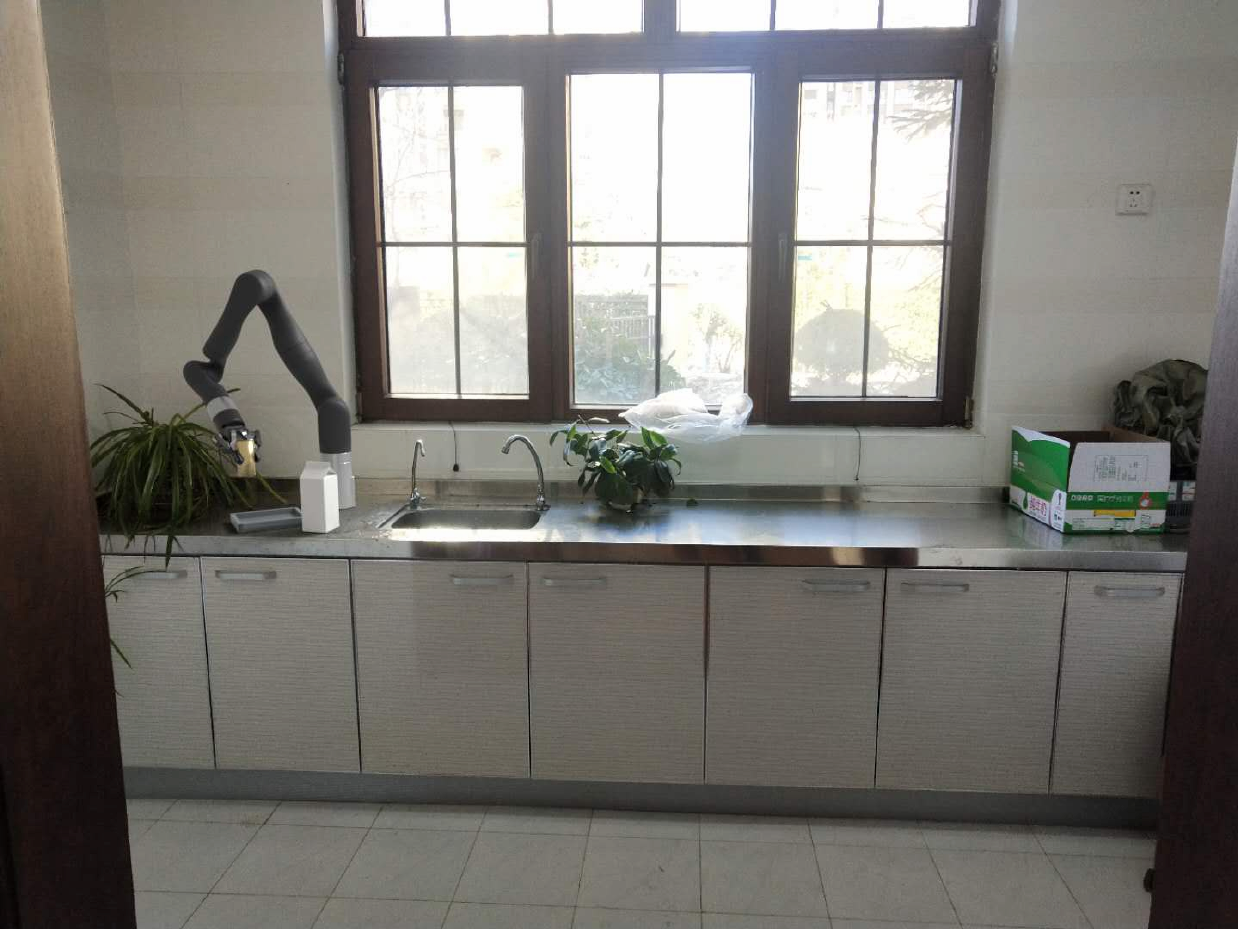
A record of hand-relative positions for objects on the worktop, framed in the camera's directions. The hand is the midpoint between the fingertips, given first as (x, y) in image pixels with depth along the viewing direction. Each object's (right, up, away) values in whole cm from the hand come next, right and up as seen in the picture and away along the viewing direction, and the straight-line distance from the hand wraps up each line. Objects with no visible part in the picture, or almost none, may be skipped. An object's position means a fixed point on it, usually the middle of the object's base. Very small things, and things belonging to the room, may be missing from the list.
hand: (249, 461), depth 241 cm
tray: (+7, -17, -2) cm, 19 cm away
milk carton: (+23, -19, -7) cm, 30 cm away
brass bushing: (-2, -4, +2) cm, 5 cm away
